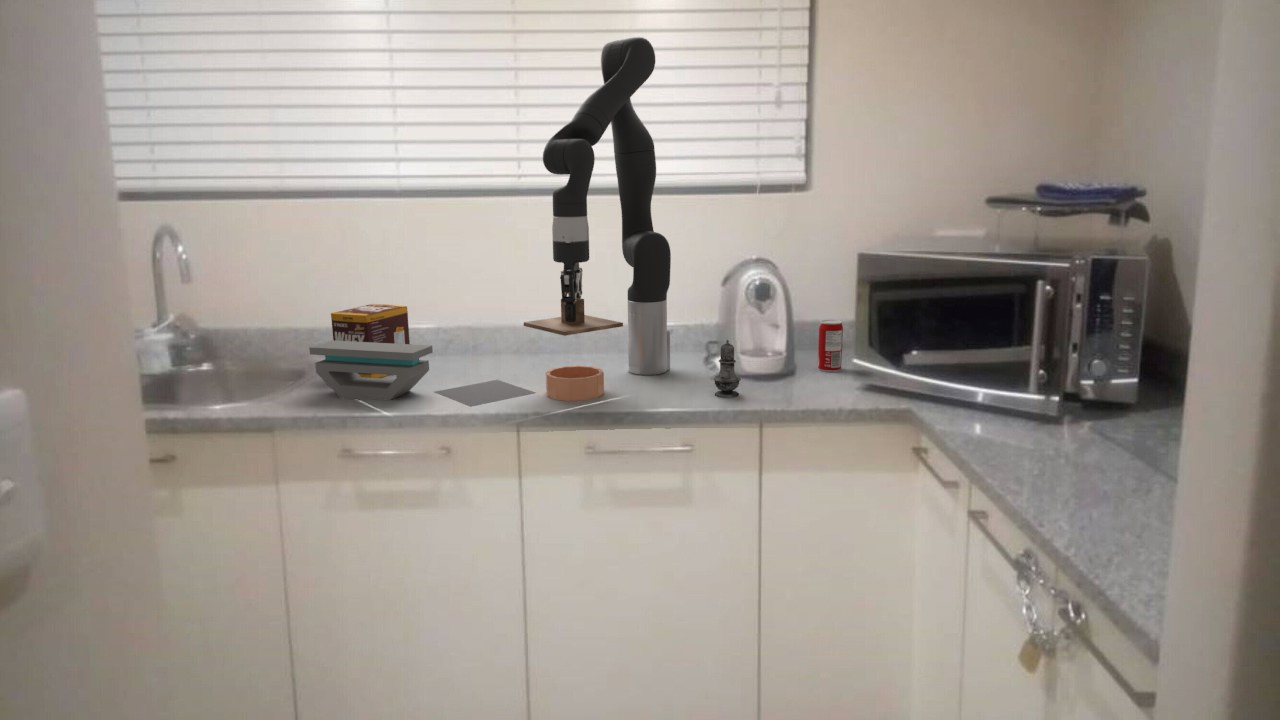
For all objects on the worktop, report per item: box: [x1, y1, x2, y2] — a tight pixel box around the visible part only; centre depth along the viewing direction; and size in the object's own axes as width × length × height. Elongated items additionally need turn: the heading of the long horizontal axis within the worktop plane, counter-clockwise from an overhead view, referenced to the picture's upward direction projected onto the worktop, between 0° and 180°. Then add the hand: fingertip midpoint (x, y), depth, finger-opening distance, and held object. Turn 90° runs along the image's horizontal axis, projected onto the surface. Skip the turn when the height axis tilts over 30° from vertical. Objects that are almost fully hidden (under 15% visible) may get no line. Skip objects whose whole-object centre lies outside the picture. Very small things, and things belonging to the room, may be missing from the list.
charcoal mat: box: [434, 379, 537, 407], centre depth 185 cm, size 16×16×1 cm
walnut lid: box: [523, 297, 624, 336], centre depth 180 cm, size 15×15×6 cm
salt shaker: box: [712, 339, 742, 399], centre depth 182 cm, size 6×6×12 cm
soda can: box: [817, 319, 844, 373], centre depth 203 cm, size 6×6×12 cm
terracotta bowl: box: [545, 365, 605, 402], centre depth 183 cm, size 12×12×5 cm
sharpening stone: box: [308, 339, 433, 401], centre depth 184 cm, size 25×8×11 cm, turn 74°
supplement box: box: [330, 303, 411, 379], centre depth 205 cm, size 10×15×16 cm
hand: (572, 319), depth 180 cm, fingers closed on walnut lid, 5 cm apart
